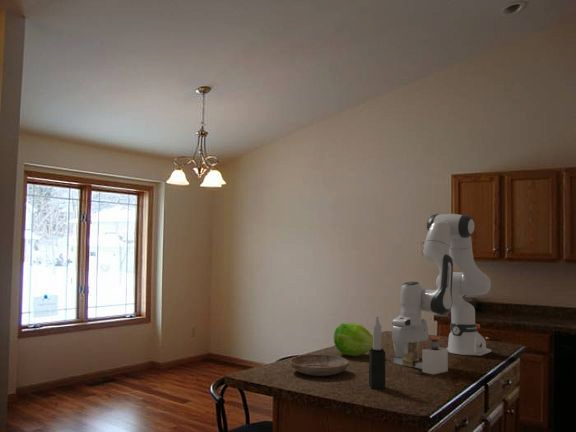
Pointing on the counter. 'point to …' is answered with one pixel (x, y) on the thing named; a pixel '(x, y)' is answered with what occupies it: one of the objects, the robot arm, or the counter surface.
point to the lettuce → (353, 339)
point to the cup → (399, 350)
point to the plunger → (435, 343)
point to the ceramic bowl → (319, 364)
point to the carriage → (411, 355)
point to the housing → (434, 360)
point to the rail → (400, 361)
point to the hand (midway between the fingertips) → (410, 352)
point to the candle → (377, 360)
